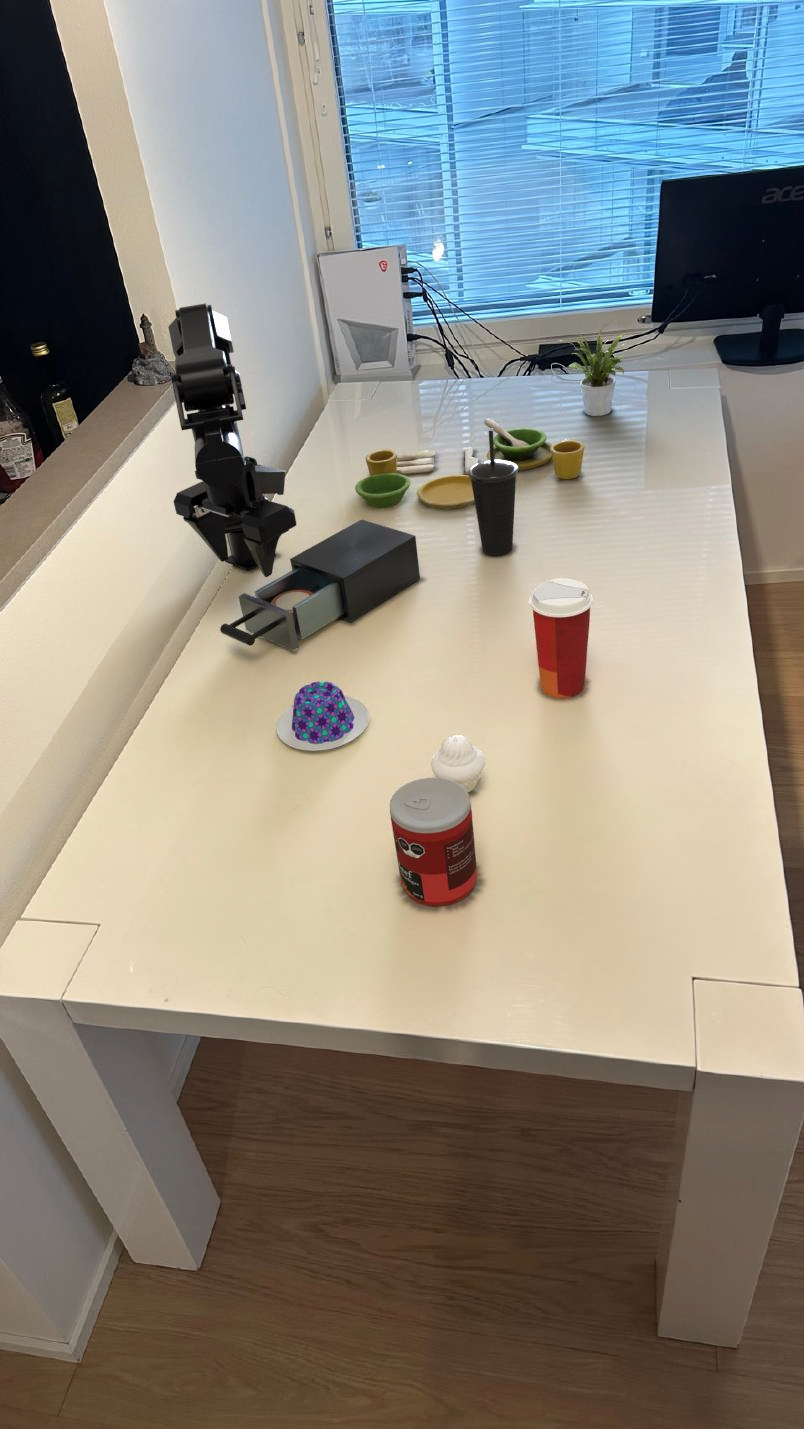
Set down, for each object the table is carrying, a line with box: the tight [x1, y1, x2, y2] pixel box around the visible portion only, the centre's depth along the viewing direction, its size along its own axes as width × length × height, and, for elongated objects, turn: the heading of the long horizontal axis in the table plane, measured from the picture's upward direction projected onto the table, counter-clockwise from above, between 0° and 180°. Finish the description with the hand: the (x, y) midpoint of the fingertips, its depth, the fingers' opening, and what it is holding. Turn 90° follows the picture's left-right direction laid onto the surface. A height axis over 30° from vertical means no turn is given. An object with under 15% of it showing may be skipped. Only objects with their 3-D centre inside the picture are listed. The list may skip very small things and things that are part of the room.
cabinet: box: [289, 518, 421, 624], centre depth 155 cm, size 16×12×8 cm
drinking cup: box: [467, 428, 519, 557], centre depth 158 cm, size 8×8×20 cm
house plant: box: [557, 329, 628, 417], centre depth 203 cm, size 14×14×16 cm
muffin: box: [430, 734, 486, 794], centre depth 115 cm, size 6×6×7 cm
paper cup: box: [527, 577, 594, 699], centre depth 127 cm, size 8×8×14 cm
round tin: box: [271, 590, 314, 626], centre depth 148 cm, size 7×7×3 cm
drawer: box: [219, 567, 346, 651], centre depth 147 cm, size 20×10×6 cm, turn 138°
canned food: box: [389, 777, 478, 907], centre depth 102 cm, size 8×8×11 cm
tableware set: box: [354, 417, 585, 509], centre depth 186 cm, size 41×28×6 cm
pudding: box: [275, 681, 370, 752], centre depth 128 cm, size 12×12×5 cm
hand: (246, 567), depth 139 cm, fingers open, 9 cm apart
